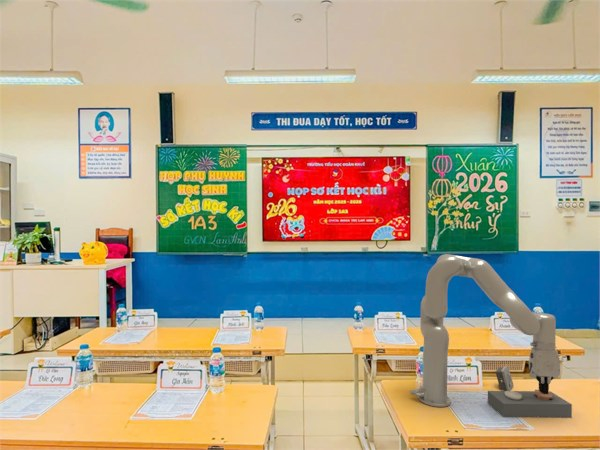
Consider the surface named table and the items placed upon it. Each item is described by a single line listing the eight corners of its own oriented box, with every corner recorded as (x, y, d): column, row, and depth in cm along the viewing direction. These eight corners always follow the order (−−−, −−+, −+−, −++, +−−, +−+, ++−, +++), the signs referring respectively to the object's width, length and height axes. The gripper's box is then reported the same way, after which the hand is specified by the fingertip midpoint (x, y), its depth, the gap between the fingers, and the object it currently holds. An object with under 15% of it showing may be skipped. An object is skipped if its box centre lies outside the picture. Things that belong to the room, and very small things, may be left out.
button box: (503, 417, 149) (503, 403, 149) (487, 403, 161) (487, 390, 161) (571, 417, 149) (571, 404, 149) (550, 403, 161) (550, 391, 161)
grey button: (509, 410, 152) (509, 397, 152) (501, 403, 158) (501, 390, 158) (525, 410, 152) (525, 397, 152) (516, 403, 158) (516, 390, 158)
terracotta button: (540, 408, 152) (540, 395, 152) (530, 402, 158) (531, 389, 158) (555, 408, 152) (556, 395, 152) (545, 402, 158) (545, 389, 158)
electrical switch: (509, 392, 172) (507, 370, 173) (496, 390, 175) (494, 369, 176) (513, 386, 179) (512, 365, 180) (501, 384, 182) (499, 364, 183)
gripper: (531, 348, 152) (530, 396, 151) (569, 348, 152) (569, 396, 152) (519, 342, 159) (519, 388, 159) (556, 343, 159) (555, 389, 159)
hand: (543, 392), depth 155 cm, fingers closed
